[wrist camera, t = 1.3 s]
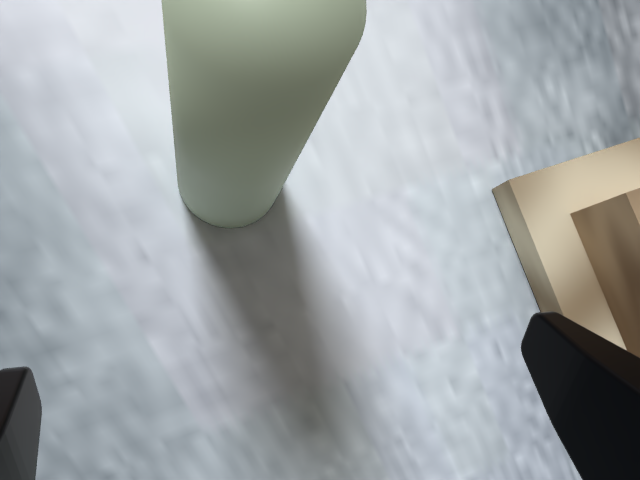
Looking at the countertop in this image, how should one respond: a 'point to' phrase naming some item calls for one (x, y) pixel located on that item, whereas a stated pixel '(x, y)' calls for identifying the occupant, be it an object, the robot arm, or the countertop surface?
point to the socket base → (582, 239)
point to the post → (250, 94)
